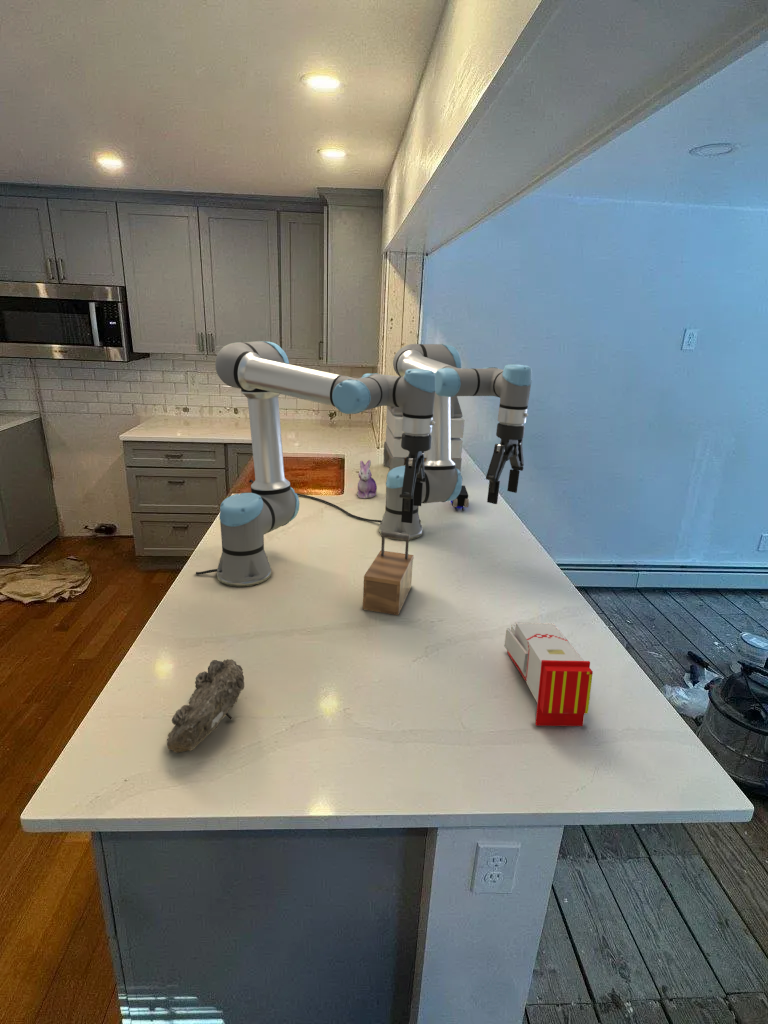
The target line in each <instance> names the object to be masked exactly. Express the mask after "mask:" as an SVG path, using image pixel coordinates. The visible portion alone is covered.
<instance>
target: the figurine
mask: <svg viewBox="0 0 768 1024" xmlns="http://www.w3.org/2000/svg"><path fill="white" fill-rule="evenodd" d="M371 463H372V461H371V460H370V459H368V460H367V461H366V463H364V461H363V460H360V461H359V467H360V468H359V471H358V475H357V476H358V478H359V480H358V482H357V494H356V495H357V497H358V498H361V499H370V498H374V497H375V496H376V495H377V490H378V487H377V482H376V480H375V479H374V478H373V477H372V476H373V475H372V471H371V469H370V467H371Z"/></svg>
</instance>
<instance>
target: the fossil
mask: <svg viewBox="0 0 768 1024" xmlns="http://www.w3.org/2000/svg"><path fill="white" fill-rule="evenodd" d="M243 670H244V669H243V667H242V665H240V664H237V662H236V661H235V660H234V659H232V658H231V659H227V658H226V659H224V660H223V661H222V660H217V659H212V660H211V661H210V663H209V665H208V666H207V671H201V672H199V673H198V674H197V675H196V676H195V680H194V684H195V685H194V687H195V689H194V690H193V693H192V694H191V697H190V698H189V700H188V704H184V705H182V706H181V707H180V709H177V710H176V711H175V713H174V715H173V716H172V718H171V723H172V724H173V727H172V730H171V731H170V732H168V734H167V738H166V741H167V742H166V745H167V749H168V750H169V751H173V752H174V753H176V754H178V753H182V752H188V751H189V752H192V751H193V750H195V748H196V747H197V746H199V744H200V743H201V742H203V741H204V740H205V739H206V738H207V737H208V736H209V735H210V734H211V733H212V732H214V730H215V729H217V727H218V726H219V724H220V722H221V721H222V720H223V719H224V718H225V716H226V717H227V719H229V720H233V717H232V715H230V714H229V710H230V709H231V708H234V706H235V704H236V703H237V702H238V699H239V697H240V695H241V693H242V691H243V690H245V689H244V688H245V675H244V671H243Z"/></svg>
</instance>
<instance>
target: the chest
mask: <svg viewBox="0 0 768 1024" xmlns="http://www.w3.org/2000/svg"><path fill="white" fill-rule="evenodd" d="M413 560H414V559H413ZM413 560H412V562H411V564H410V566H409V568H408V570H407V572H406V574H405V576H404V578H403V581H402V583H401V585H394V584H387V583H381V582H374V581H368V580H364V579H363V589H362V590H363V592H362V593H363V594H362V610H364V611H370V612H375V613H383V614H387V615H394V616H399V615H400V613H401V610H402V608H403V606H404V604H405V602H406V599H407V597H408V595H409V593H410V591H411V588H412V580H413V578H412V577H413V566H414V565H413V563H414V561H413Z"/></svg>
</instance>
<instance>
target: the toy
mask: <svg viewBox="0 0 768 1024" xmlns="http://www.w3.org/2000/svg"><path fill="white" fill-rule="evenodd" d="M503 645H504V647H505V649H506V650H507V655H508V656H509V658H510V659H511V662H513V664H514V666H515V667H516V669H517V670H518V672H519V673H520V675H521V676H522V679H523V680H524V681H525V683H526V686H527V687H528V689H529V690H530V693H531V694H532V696H533V698H534V700H535V701H536V703H537V704H536V714H535V722H534V723H535V726H537V727H541V726H542V727H583V726H584V719H585V715H586V714H587V715H588V714H589V706H590V705H589V704H590V699H591V691H592V683H593V682H592V681H593V674H594V673H593V672H594V671H593V670H592V669H591V668H590V667H591V661H590V660H584V659H583V658H582V657H581V655H580V654H579V653H578V651H577V650H576V649H575V648H574V647H573V645H572V644H571V643H570V642H569V640H568V639H567V638H566V636H564V633H562V632H561V630H560V629H559V628H558V627H557V625H556V624H555V623H553V622H515V624H511V625H510V628H506V630H505V638H504V644H503Z"/></svg>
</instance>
